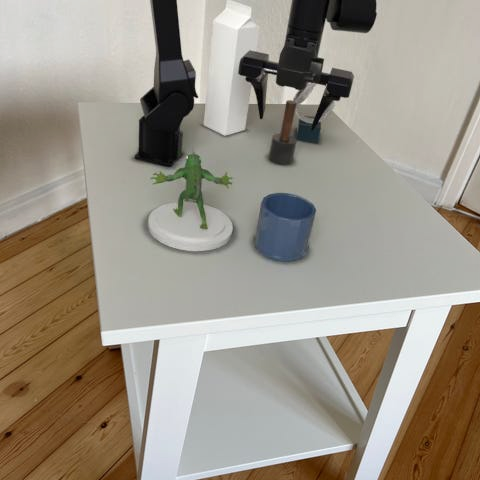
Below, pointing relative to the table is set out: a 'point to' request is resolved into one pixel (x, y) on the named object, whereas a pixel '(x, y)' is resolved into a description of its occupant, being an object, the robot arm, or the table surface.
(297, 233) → the blue plastic cup
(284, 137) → the wooden peg on base
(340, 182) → the table surface
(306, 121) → the watch
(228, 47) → the milk
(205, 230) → the green frog figurine
